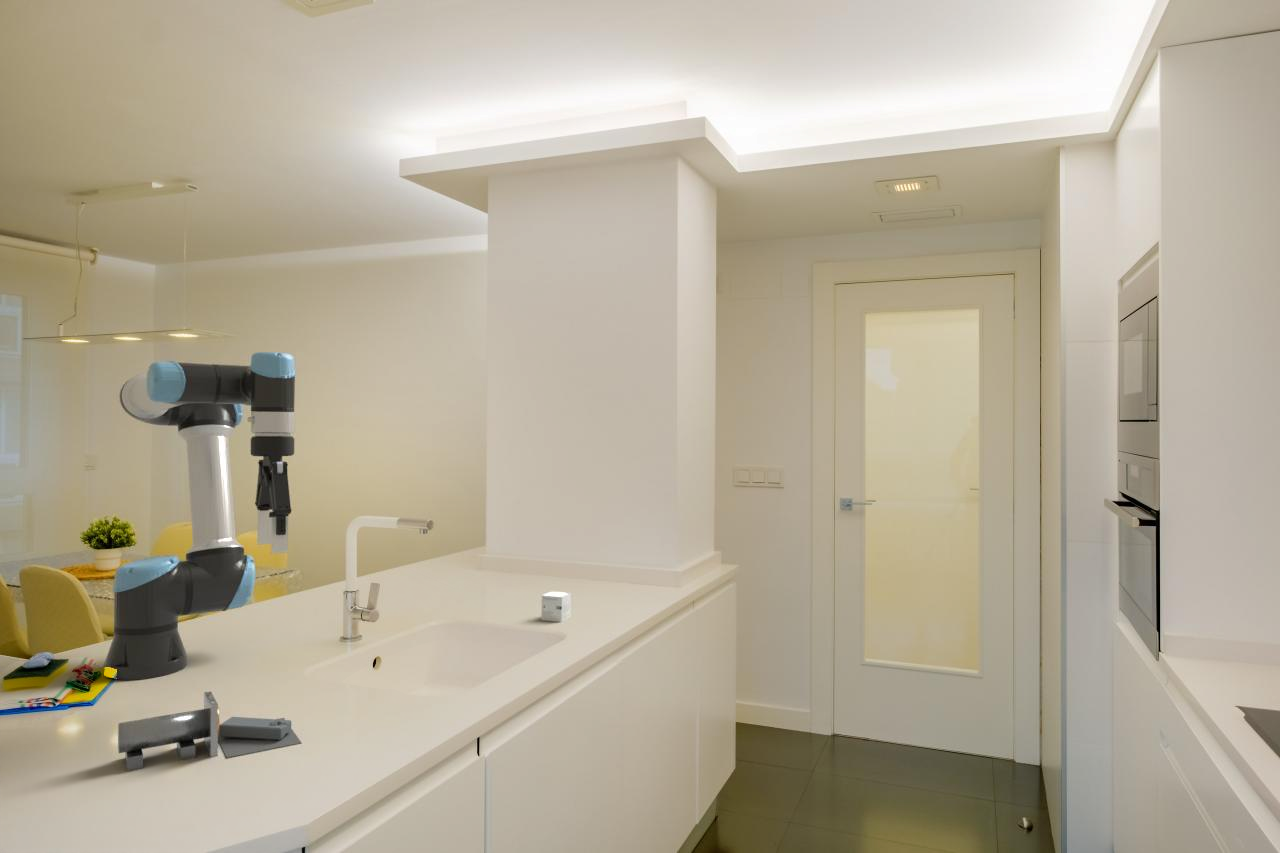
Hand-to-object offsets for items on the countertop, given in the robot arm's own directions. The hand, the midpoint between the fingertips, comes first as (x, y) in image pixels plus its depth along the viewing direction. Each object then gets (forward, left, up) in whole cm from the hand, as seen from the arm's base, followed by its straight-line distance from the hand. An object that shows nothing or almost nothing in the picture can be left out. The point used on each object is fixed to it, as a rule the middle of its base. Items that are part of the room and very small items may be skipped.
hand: (272, 548), depth 156 cm
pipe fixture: (+19, -19, -29) cm, 39 cm away
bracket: (+14, -8, -30) cm, 34 cm away
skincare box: (-29, +76, -29) cm, 86 cm away
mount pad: (+18, -6, -29) cm, 34 cm away
